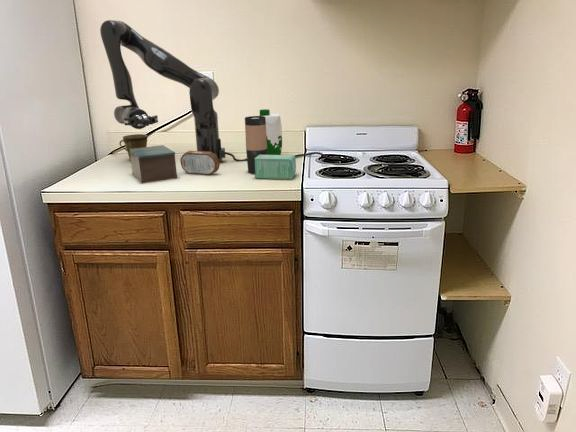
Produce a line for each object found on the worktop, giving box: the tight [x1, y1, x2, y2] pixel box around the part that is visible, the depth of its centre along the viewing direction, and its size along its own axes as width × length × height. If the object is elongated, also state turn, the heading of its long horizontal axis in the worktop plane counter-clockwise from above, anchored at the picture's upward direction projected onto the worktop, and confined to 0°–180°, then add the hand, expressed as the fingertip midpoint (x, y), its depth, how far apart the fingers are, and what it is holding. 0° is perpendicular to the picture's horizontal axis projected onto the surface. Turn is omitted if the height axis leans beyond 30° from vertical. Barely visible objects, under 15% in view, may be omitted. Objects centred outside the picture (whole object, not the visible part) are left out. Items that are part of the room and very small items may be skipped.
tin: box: [180, 150, 220, 176], centre depth 182 cm, size 15×3×8 cm, turn 71°
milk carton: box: [258, 108, 283, 155], centre depth 203 cm, size 9×9×20 cm
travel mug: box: [244, 115, 267, 175], centre depth 182 cm, size 8×8×20 cm
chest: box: [130, 152, 178, 184], centre depth 181 cm, size 16×13×9 cm
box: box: [254, 154, 297, 180], centre depth 175 cm, size 7×14×8 cm, turn 79°
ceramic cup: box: [118, 133, 148, 162], centre depth 209 cm, size 13×10×10 cm
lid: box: [129, 144, 176, 159], centre depth 179 cm, size 16×13×1 cm
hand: (146, 122), depth 176 cm, fingers closed
